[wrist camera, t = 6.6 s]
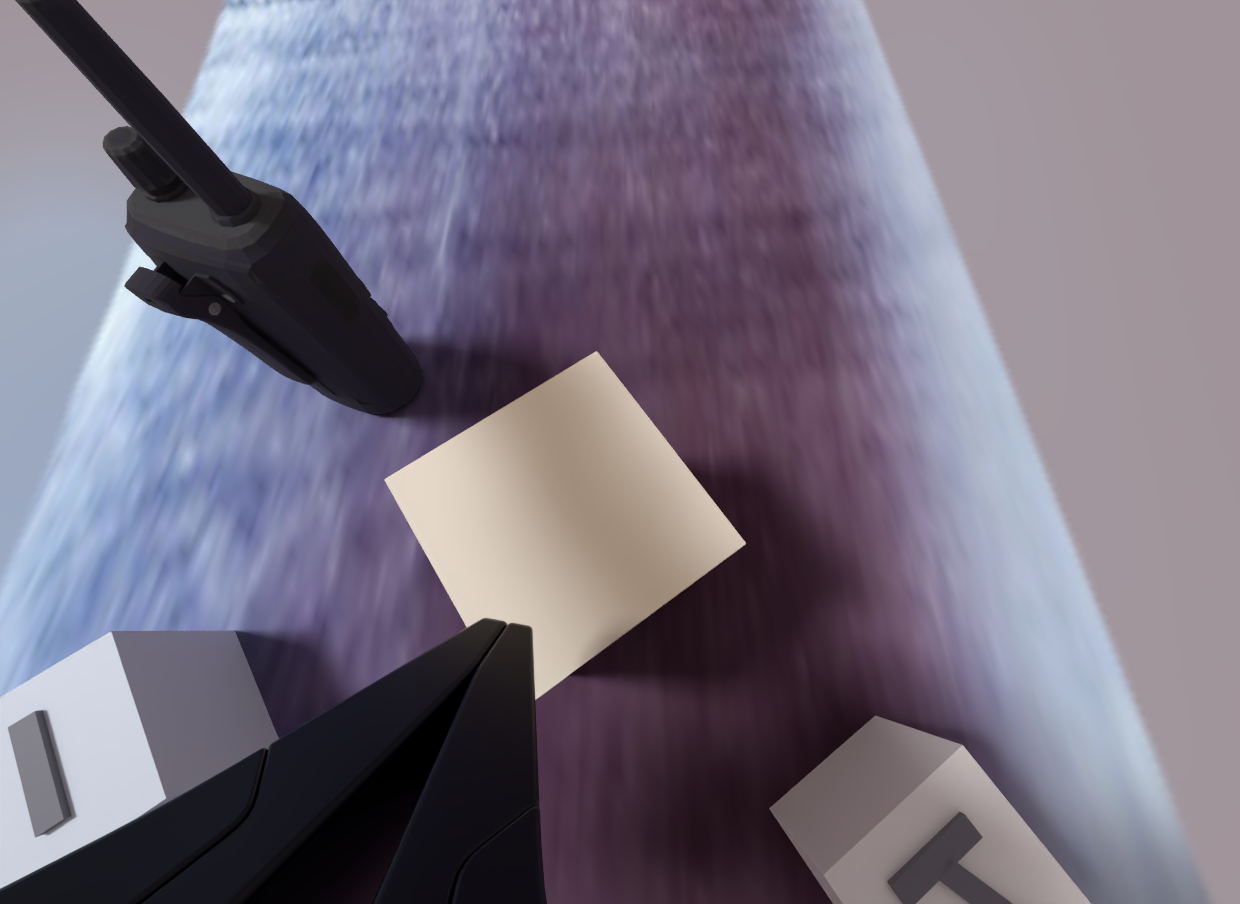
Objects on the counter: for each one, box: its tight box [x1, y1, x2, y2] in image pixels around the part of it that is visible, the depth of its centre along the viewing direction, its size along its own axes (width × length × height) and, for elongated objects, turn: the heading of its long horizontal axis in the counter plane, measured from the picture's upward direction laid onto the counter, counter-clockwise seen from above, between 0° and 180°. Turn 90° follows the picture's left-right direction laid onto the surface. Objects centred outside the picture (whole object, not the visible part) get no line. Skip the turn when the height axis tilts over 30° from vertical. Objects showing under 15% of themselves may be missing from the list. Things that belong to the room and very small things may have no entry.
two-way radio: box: [16, 0, 422, 414], centre depth 15 cm, size 6×4×15 cm
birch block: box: [384, 351, 746, 700], centre depth 16 cm, size 6×6×9 cm
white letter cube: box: [0, 631, 279, 888], centre depth 16 cm, size 5×5×5 cm
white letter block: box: [769, 715, 1091, 904], centre depth 15 cm, size 5×5×5 cm
